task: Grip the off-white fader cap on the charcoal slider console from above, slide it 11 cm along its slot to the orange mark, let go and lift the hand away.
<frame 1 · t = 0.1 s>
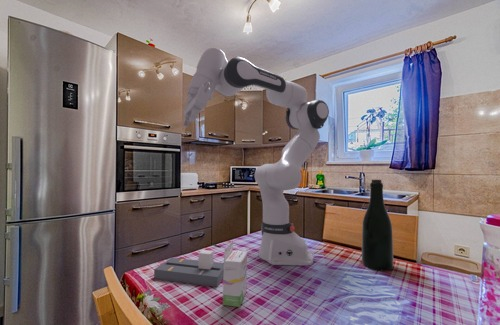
hand: (188, 124, 77), 52 cm above the table, tool tilted 20°, fingers open, 8 cm apart
ink box: (235, 298, 62), on the table
slider console: (192, 275, 75), on the table
beer bottle: (377, 266, 84), on the table
fader cap: (206, 261, 74), point 5 cm above the table, slide at -5.0 cm
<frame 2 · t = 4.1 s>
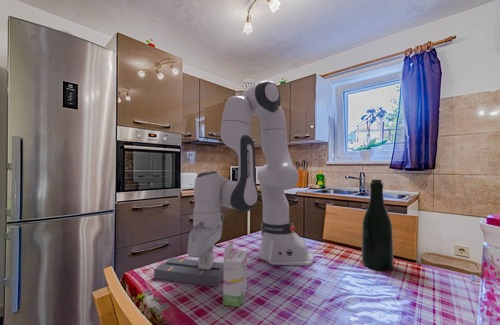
hand: (206, 260, 74), 5 cm above the table, tool pointing down, fingers closed on fader cap, 3 cm apart
fader cap: (206, 261, 74), point 5 cm above the table, slide at -5.0 cm, touching gripper
everything else where it was.
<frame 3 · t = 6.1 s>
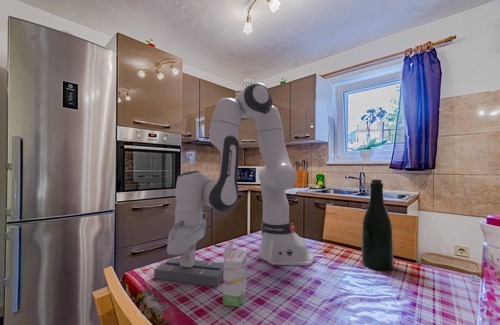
hand: (187, 258, 75), 5 cm above the table, tool pointing down, fingers closed on fader cap, 3 cm apart
fader cap: (187, 259, 75), point 5 cm above the table, slide at 1.7 cm, touching gripper
everything else where it was.
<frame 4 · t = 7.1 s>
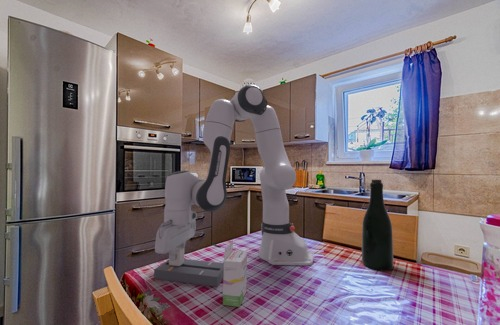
hand: (176, 257, 76), 5 cm above the table, tool pointing down, fingers closed on fader cap, 3 cm apart
fader cap: (176, 258, 76), point 5 cm above the table, slide at 5.8 cm, touching gripper
everything else where it was.
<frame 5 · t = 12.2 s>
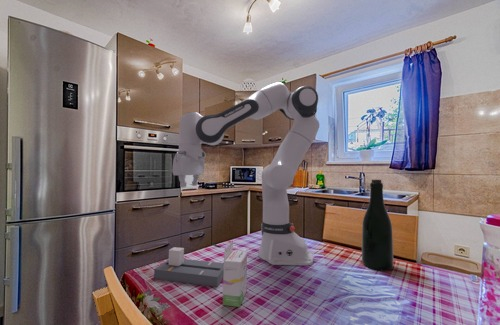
hand: (189, 186, 89), 29 cm above the table, tool pointing down, fingers open, 8 cm apart
fader cap: (176, 258, 76), point 5 cm above the table, slide at 6.0 cm
everything else where it was.
at the end: fader cap slide at 6.0 cm; the gripper is holding nothing; ink box moved 0.2 cm from its start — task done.
